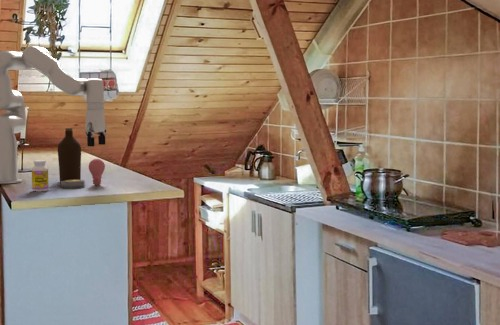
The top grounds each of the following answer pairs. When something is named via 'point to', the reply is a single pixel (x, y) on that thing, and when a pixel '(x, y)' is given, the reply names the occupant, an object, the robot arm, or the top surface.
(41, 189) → the supplement bottle
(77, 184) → the socket base
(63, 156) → the olive oil
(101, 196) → the top surface
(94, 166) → the light bulb
